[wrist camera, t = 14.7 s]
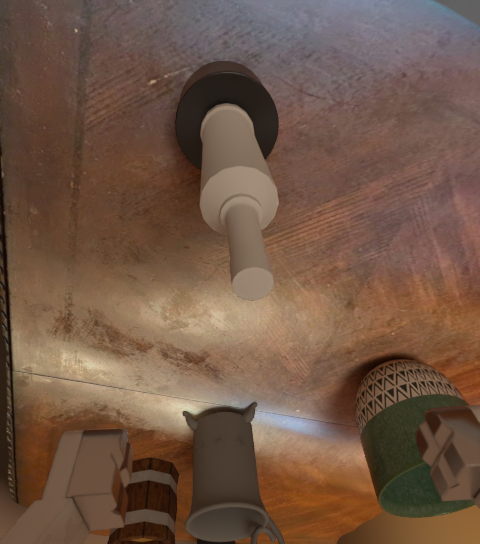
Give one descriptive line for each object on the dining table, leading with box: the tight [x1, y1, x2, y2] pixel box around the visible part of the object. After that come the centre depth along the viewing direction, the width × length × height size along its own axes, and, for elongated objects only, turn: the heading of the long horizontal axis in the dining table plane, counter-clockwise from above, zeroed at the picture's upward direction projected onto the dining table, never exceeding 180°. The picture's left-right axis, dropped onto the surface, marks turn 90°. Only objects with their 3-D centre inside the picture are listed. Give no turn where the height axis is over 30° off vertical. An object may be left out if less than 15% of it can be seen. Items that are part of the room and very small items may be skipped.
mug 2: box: [183, 402, 285, 544], centre depth 70 cm, size 19×15×25 cm
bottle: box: [200, 103, 279, 301], centre depth 29 cm, size 5×5×25 cm
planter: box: [354, 359, 476, 518], centre depth 67 cm, size 20×20×21 cm
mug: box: [108, 458, 179, 544], centre depth 86 cm, size 20×14×15 cm
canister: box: [176, 61, 279, 170], centre depth 42 cm, size 10×10×7 cm
